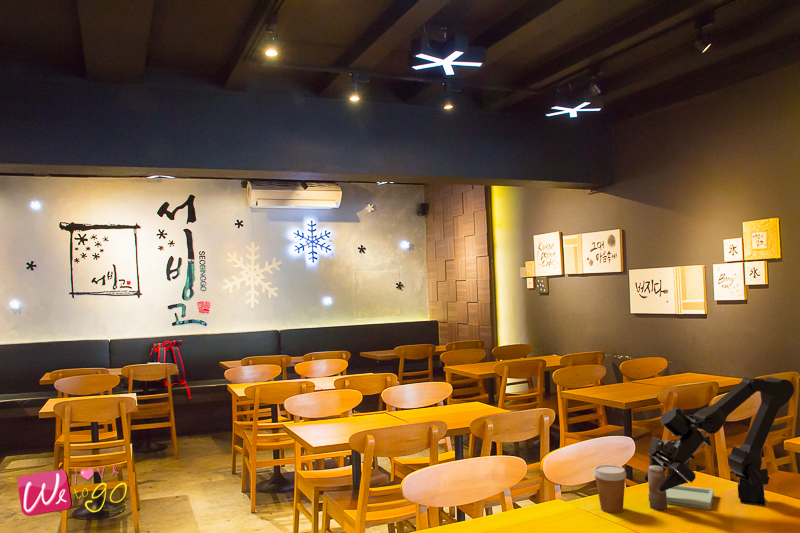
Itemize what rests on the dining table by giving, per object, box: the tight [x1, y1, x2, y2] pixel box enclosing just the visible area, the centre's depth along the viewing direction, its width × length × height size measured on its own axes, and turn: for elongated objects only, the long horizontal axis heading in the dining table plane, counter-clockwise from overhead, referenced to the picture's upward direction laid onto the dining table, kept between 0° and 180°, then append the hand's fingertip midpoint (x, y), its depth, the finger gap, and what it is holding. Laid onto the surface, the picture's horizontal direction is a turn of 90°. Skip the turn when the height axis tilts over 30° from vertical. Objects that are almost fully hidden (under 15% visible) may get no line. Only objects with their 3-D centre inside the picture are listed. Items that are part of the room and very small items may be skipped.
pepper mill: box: [647, 465, 668, 512], centre depth 178 cm, size 5×5×12 cm
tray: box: [647, 484, 715, 511], centre depth 184 cm, size 17×13×2 cm
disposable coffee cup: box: [592, 464, 627, 514], centre depth 178 cm, size 10×10×12 cm
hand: (652, 485), depth 178 cm, fingers open, 9 cm apart
